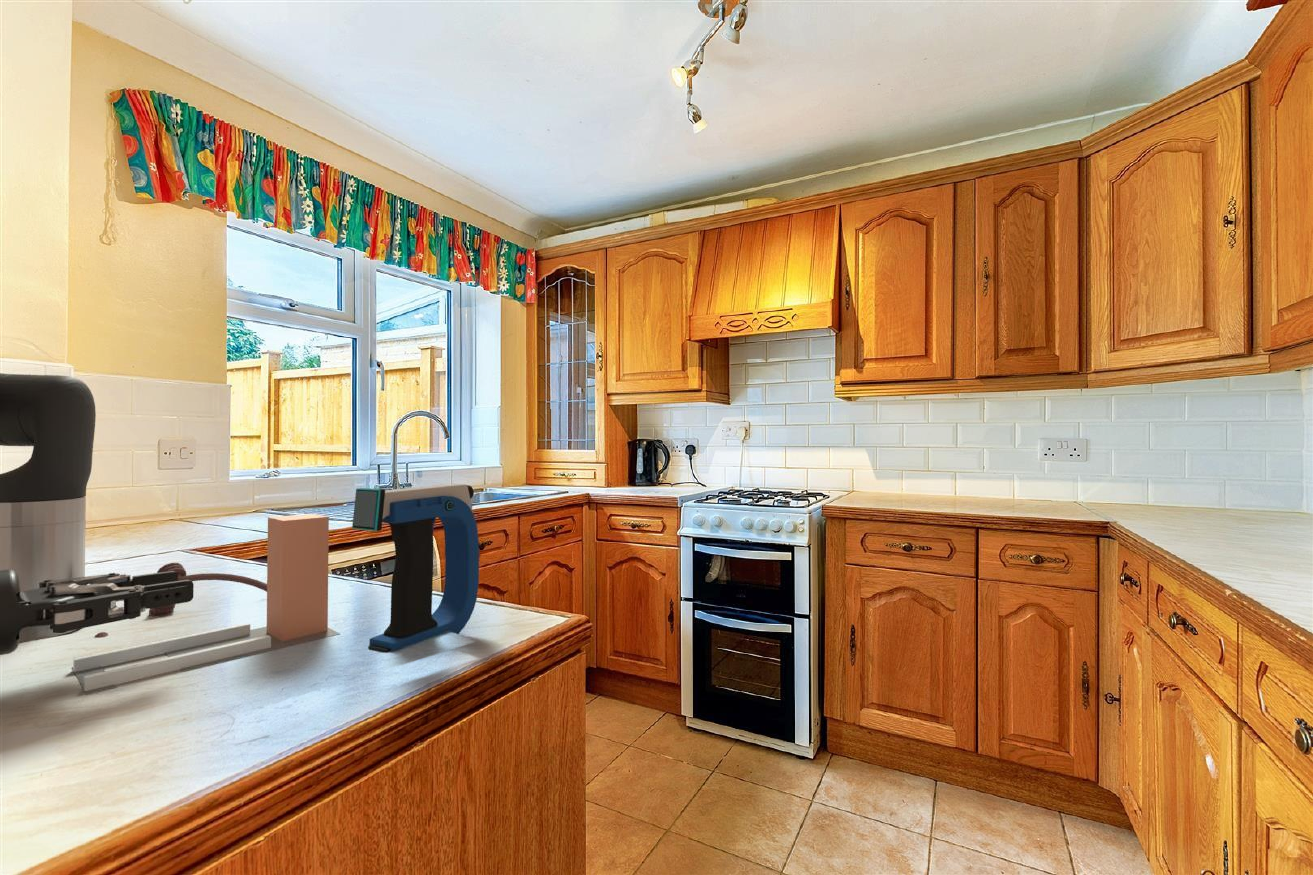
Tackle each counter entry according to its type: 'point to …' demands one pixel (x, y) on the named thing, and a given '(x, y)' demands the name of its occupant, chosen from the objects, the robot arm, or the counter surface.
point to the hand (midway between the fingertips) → (183, 585)
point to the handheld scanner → (424, 558)
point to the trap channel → (180, 654)
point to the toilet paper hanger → (196, 577)
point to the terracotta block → (297, 575)
